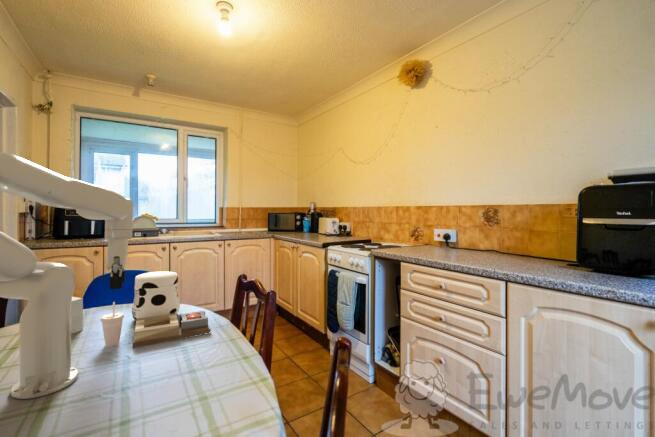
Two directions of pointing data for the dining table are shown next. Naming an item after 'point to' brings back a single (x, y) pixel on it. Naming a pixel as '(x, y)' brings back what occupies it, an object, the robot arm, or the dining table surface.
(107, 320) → the smoothie
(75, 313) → the skincare box
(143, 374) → the dining table surface
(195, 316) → the button
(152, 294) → the milk container
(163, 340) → the wooden tray with button
